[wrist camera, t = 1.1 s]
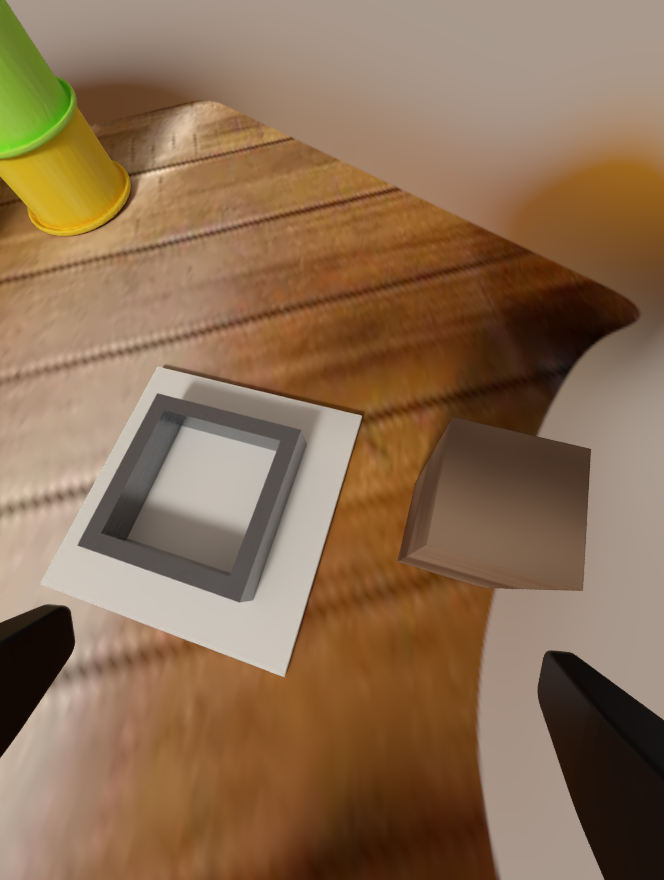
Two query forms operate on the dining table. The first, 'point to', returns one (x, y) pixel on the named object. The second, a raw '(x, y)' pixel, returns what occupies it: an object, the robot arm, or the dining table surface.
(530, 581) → the walnut block
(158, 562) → the collar
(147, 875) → the dining table surface
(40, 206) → the stacking cups
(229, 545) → the mat
